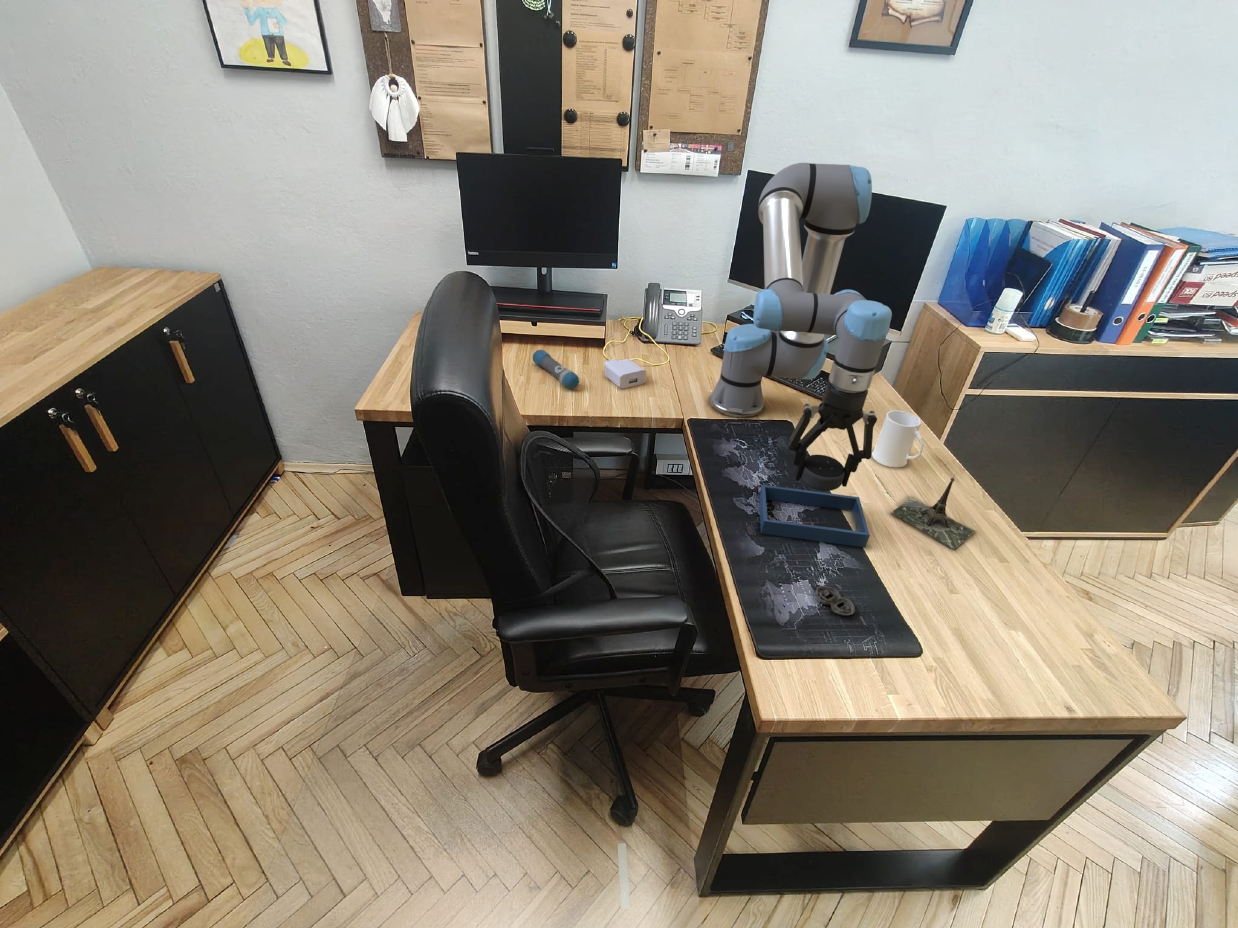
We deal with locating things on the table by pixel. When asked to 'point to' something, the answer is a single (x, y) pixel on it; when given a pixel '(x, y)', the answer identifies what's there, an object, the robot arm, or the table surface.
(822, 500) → the rectangular frame
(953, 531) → the eiffel tower figurine
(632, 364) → the charger
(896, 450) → the mug
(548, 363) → the grey and blue rod
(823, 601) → the corroded twin loop
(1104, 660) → the table surface
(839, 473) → the smart speaker
